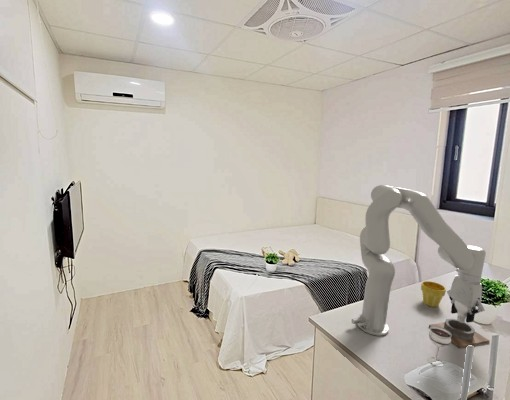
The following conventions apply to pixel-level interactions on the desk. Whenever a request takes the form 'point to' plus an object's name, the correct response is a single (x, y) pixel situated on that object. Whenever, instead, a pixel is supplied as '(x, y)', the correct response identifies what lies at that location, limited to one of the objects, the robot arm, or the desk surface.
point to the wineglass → (439, 339)
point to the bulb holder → (462, 333)
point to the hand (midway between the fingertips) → (461, 316)
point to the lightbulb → (461, 311)
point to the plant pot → (432, 293)
